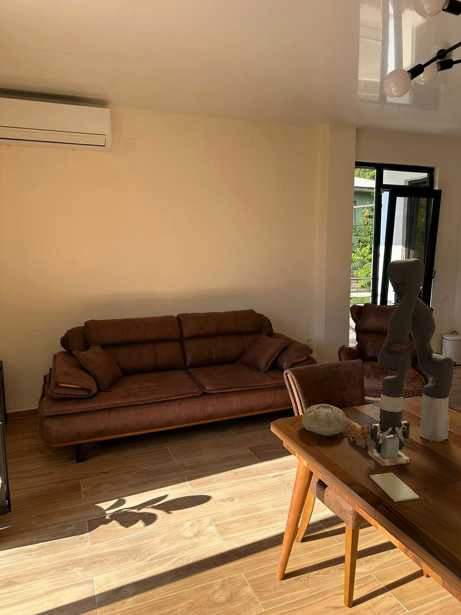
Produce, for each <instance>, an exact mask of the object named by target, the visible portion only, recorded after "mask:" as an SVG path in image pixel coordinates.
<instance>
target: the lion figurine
mask: <svg viewBox="0 0 461 615" xmlns="http://www.w3.org/2000/svg"><path fill="white" fill-rule="evenodd" d="M370 433H371V424H369V425H363V426H360V425H359V423H357V422H352V423H351V425H350V427H349V430H348V432H345V433H344V435H345V436H348V435H350V442H354V441H355V440H354V439H353V438H355V435H354V434H356V435H357V437H359V438H361V448H362V449H365V448H366V446H367V447H369V446H370V443H369V441H372V440H371V439H370ZM377 433H378V432H377Z"/></svg>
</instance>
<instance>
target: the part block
mask: <svg viewBox="0 0 461 615" xmlns="http://www.w3.org/2000/svg"><path fill="white" fill-rule="evenodd" d="M381 443H382V450H381V453H379V456H380V457H382V458H383V459H392V458H398V449H399V439H398V438H397V436H396V435H390V436H387V437H386V438H385V439H383V441H382V442H381Z"/></svg>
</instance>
